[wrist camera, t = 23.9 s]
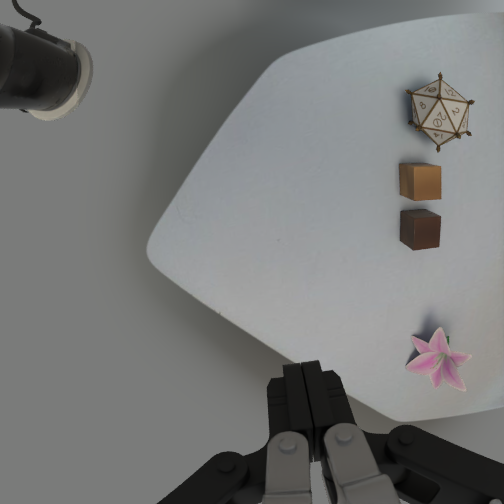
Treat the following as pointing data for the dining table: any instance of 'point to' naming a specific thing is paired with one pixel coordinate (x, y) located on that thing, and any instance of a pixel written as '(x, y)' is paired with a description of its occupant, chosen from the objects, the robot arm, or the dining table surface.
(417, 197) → the oak block
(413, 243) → the walnut block
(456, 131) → the game die
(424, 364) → the lily
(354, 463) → the robot arm
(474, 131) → the dining table surface
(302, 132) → the dining table surface
